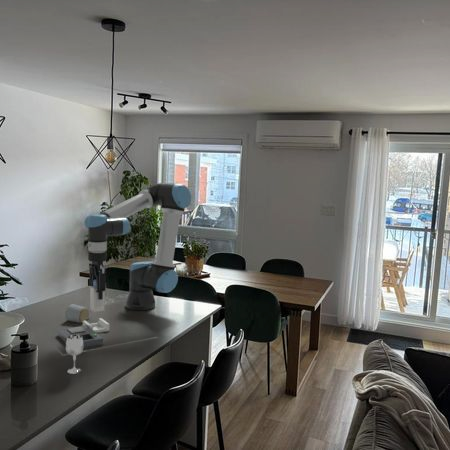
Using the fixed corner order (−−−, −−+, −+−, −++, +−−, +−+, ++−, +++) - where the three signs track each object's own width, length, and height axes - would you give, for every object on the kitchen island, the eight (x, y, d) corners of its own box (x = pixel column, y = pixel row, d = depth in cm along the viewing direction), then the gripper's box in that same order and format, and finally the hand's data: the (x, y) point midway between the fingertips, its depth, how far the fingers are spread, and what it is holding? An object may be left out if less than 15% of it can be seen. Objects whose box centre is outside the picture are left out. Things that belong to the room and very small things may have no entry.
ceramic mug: (80, 325, 199) (80, 308, 199) (64, 323, 202) (65, 306, 201) (94, 319, 209) (94, 303, 209) (79, 316, 212) (79, 300, 211)
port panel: (86, 332, 192) (86, 324, 191) (102, 345, 177) (103, 337, 177) (57, 336, 185) (57, 328, 184) (72, 351, 170) (72, 342, 170)
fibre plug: (100, 307, 197) (100, 278, 195) (104, 310, 193) (104, 280, 192) (90, 309, 194) (90, 279, 193) (94, 312, 191) (94, 281, 189)
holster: (101, 325, 200) (101, 318, 200) (109, 332, 193) (109, 323, 193) (82, 328, 195) (82, 320, 195) (90, 335, 188) (90, 326, 188)
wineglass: (67, 367, 156) (68, 333, 155) (84, 367, 157) (85, 334, 156) (63, 374, 151) (63, 339, 149) (80, 374, 151) (81, 340, 150)
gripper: (81, 248, 195) (81, 300, 198) (96, 255, 181) (96, 311, 184) (98, 247, 200) (98, 298, 203) (114, 254, 186) (113, 308, 189)
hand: (97, 304), depth 193 cm, fingers closed on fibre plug, 4 cm apart
